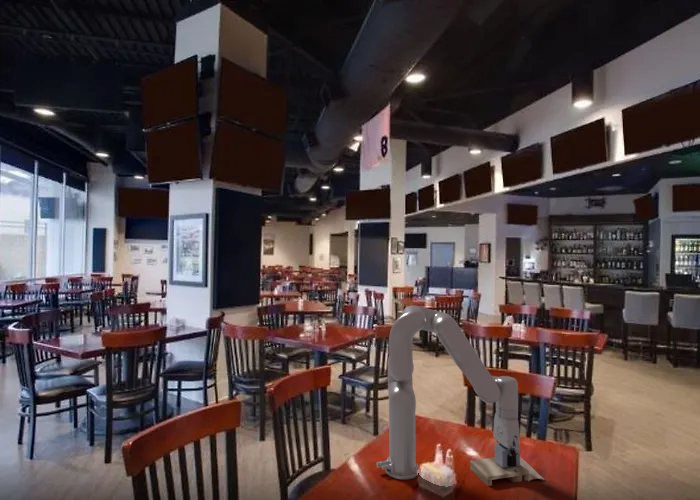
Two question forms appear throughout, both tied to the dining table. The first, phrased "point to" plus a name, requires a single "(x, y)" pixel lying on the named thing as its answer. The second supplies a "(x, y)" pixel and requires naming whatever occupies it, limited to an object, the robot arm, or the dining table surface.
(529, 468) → the beige piece
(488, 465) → the miniature wooden pallet
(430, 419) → the dining table surface
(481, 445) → the dining table surface
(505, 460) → the grey hollow block
